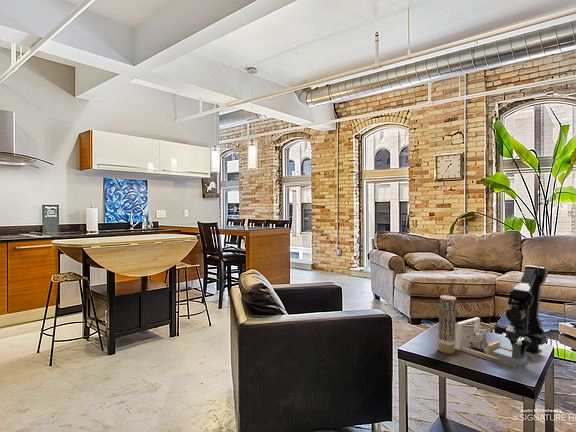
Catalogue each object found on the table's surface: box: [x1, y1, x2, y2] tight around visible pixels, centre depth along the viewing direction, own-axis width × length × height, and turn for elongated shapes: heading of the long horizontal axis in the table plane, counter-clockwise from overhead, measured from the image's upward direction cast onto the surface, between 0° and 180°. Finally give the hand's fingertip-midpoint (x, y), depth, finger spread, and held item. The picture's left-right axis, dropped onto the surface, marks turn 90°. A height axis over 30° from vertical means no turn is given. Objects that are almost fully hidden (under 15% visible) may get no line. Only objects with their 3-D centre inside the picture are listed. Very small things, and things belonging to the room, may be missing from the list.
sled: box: [486, 340, 528, 366], centre depth 165 cm, size 10×13×8 cm
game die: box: [466, 330, 489, 352], centre depth 176 cm, size 9×8×10 cm
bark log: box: [437, 294, 457, 355], centre depth 172 cm, size 7×7×25 cm
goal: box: [454, 316, 481, 351], centre depth 180 cm, size 18×2×12 cm, turn 126°
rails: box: [460, 341, 534, 369], centre depth 169 cm, size 18×23×2 cm
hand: (518, 354), depth 162 cm, fingers closed on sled, 2 cm apart
